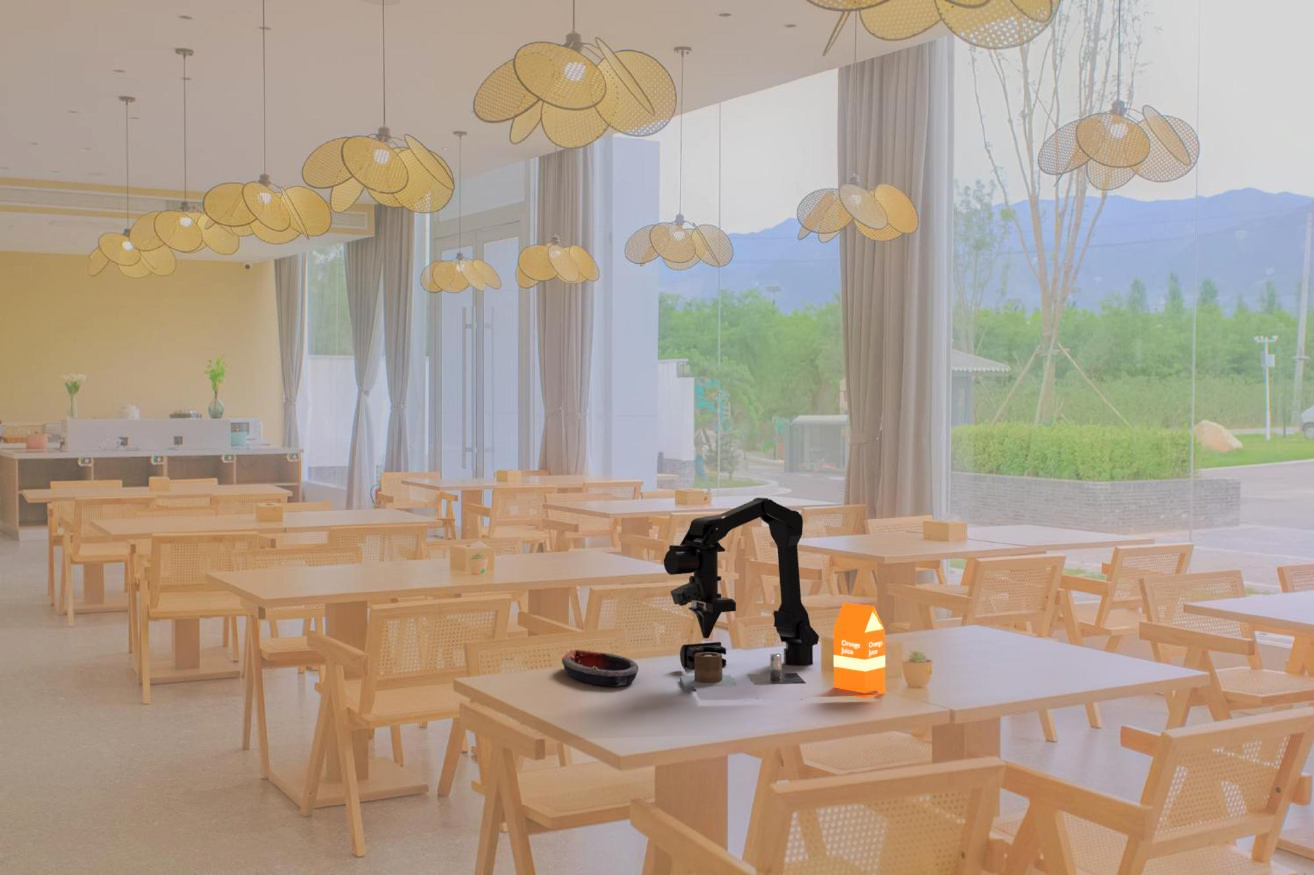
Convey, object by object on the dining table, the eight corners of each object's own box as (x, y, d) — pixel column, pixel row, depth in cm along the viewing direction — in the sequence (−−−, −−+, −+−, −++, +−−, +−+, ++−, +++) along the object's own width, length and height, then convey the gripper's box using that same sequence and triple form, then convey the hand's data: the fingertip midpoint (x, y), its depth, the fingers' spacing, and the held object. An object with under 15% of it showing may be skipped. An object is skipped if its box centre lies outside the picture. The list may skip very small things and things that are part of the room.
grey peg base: (730, 679, 298) (730, 650, 298) (737, 690, 286) (737, 659, 286) (680, 680, 297) (680, 651, 297) (685, 691, 285) (684, 660, 285)
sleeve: (713, 676, 295) (713, 648, 295) (726, 681, 290) (725, 652, 290) (690, 679, 293) (690, 651, 293) (703, 683, 287) (703, 655, 287)
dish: (592, 693, 285) (591, 671, 285) (548, 669, 313) (548, 649, 313) (654, 687, 291) (653, 665, 291) (605, 664, 320) (605, 645, 319)
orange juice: (854, 687, 288) (853, 600, 287) (885, 693, 281) (885, 604, 281) (833, 692, 282) (832, 604, 282) (865, 698, 276) (864, 608, 276)
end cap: (716, 666, 314) (716, 640, 314) (728, 671, 308) (727, 644, 308) (679, 670, 311) (679, 642, 311) (690, 675, 304) (690, 647, 304)
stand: (796, 678, 299) (796, 649, 299) (806, 688, 287) (806, 658, 287) (746, 679, 298) (746, 650, 298) (754, 689, 286) (754, 660, 286)
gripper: (657, 569, 298) (657, 635, 298) (694, 577, 282) (694, 647, 282) (698, 567, 303) (698, 631, 303) (737, 575, 287) (737, 642, 287)
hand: (706, 638), depth 294 cm, fingers closed
